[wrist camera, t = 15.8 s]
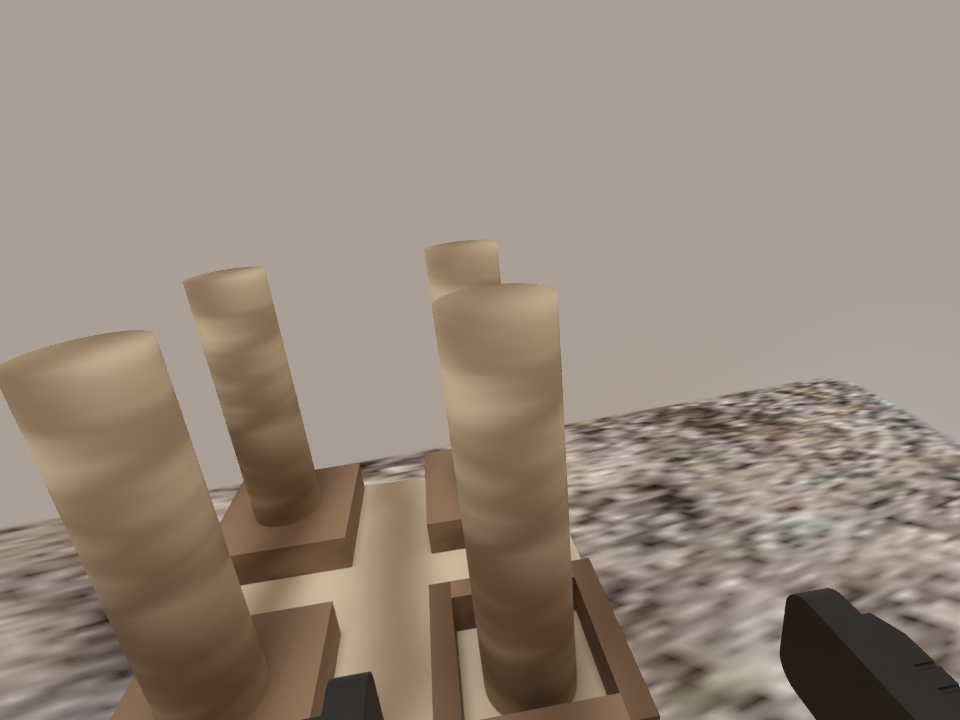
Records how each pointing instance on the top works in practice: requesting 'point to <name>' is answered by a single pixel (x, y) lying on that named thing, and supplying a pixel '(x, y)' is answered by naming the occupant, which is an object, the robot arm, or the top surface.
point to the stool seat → (274, 533)
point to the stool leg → (512, 485)
